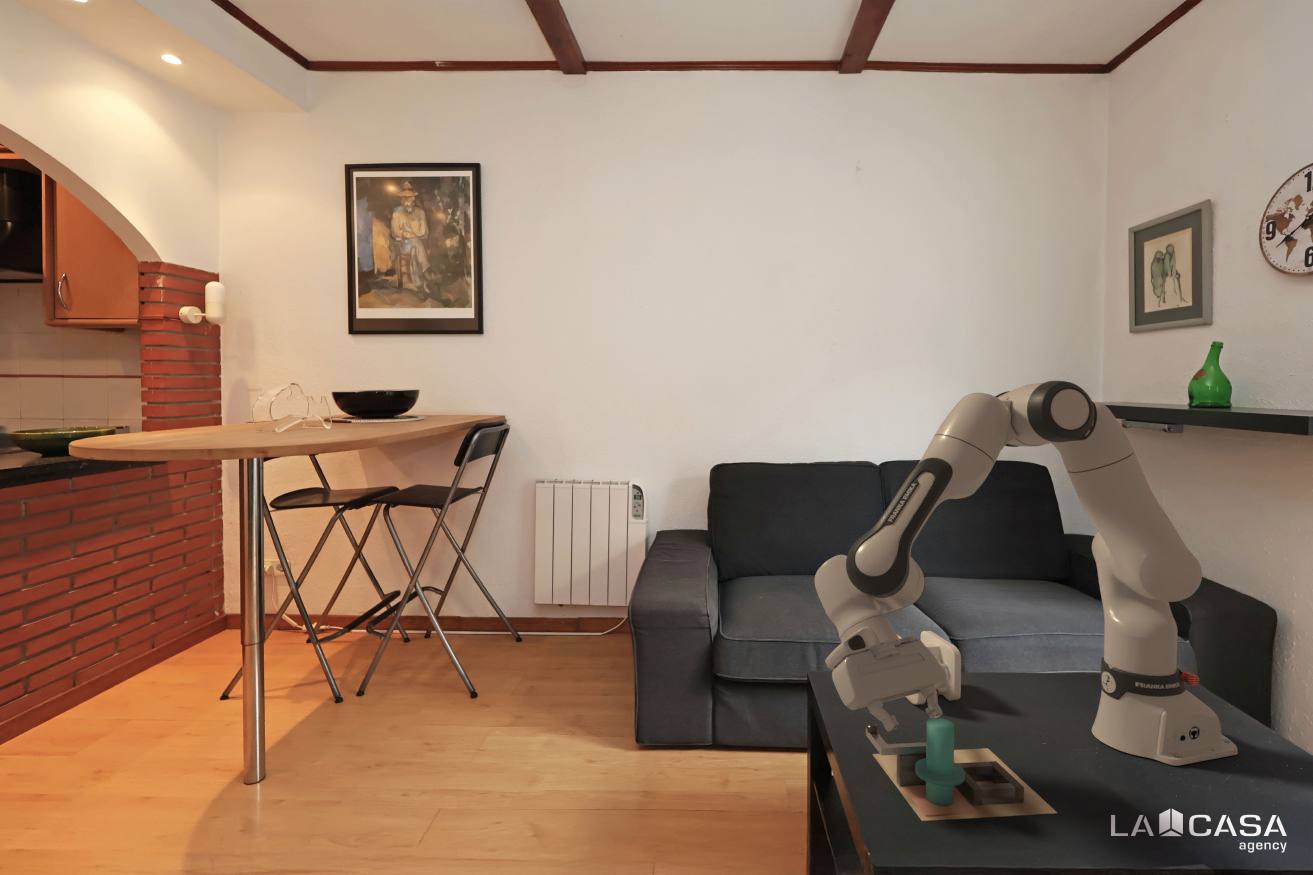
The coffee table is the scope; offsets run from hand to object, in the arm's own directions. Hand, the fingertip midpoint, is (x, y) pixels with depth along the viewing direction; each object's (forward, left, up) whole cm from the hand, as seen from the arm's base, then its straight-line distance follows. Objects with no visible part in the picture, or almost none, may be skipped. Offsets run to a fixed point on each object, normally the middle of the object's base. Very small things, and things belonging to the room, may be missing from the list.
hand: (915, 722), depth 116 cm
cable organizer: (-18, -37, -12) cm, 43 cm away
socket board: (-8, -1, -12) cm, 14 cm away
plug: (-2, +4, -11) cm, 11 cm away
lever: (0, -4, -5) cm, 7 cm away
